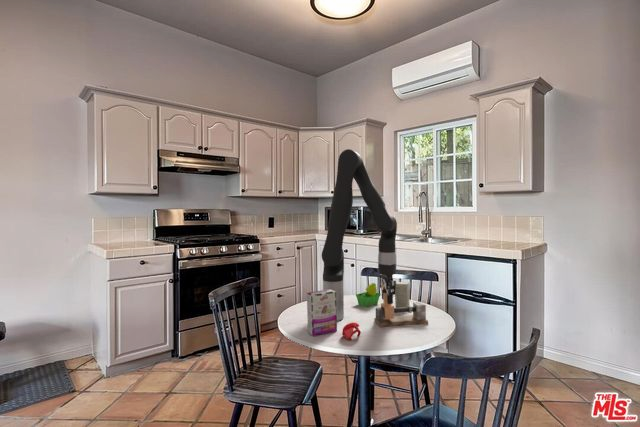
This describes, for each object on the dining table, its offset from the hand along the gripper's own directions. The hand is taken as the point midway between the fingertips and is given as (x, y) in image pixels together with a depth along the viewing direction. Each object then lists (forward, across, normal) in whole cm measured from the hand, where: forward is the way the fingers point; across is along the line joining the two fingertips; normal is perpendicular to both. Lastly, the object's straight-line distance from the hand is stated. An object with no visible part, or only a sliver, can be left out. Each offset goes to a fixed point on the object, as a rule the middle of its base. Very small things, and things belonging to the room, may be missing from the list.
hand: (387, 301), depth 150 cm
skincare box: (+10, -20, +15) cm, 27 cm away
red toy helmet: (+10, +12, -19) cm, 25 cm away
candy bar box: (+10, +4, -29) cm, 31 cm away
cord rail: (+10, 0, +6) cm, 11 cm away
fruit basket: (+10, -29, +1) cm, 31 cm away
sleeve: (+7, 0, 0) cm, 7 cm away
